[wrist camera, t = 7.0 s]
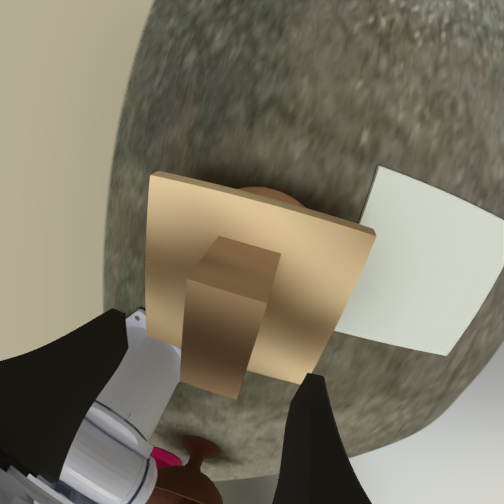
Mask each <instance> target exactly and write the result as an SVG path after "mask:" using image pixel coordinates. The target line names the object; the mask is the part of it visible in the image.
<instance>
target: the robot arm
mask: <svg viewBox="0 0 504 504" xmlns="http://www.w3.org/2000/svg"><path fill="white" fill-rule="evenodd" d="M180 361H181V348H178V347H175V346H173V345H170V344H167V343H165V342H162V341H160V340H157V339H154V338H152V337H149V336H147V335H146V312H145V311H144V310H142V309H138V310H137V311H135V312H134V313H133V314H131V315H130V316H129V317H127V318H125V313H122V312H120V311H118V310H115V309H113V308H112V309H110V310H109V311H107V312H105V313H103V314H102V315H100V316H98V317H96V318H95V319H93V320H91V321H90V322H88V323H86V324H84V325H83V326H81V327H79V328H78V329H76V330H74V331H72V332H70V333H69V334H67V335H65V336H63V337H61V338H59V339H57V340H55V341H53V342H51V343H49V344H47V345H45V346H43V347H40V348H38V349H36V350H33V351H31V352H28V353H25V354H23V355H19V356H16V357H13V358H9V359H6V360H3V361H0V504H145V503H146V502H147V500H148V499H149V497H150V495H151V493H152V491H153V489H154V487H155V484H156V480H157V468H156V462H155V459H154V458H153V457H151V456H150V454H151V452H152V449H153V446H152V445H151V444H149V443H148V442H149V440H150V438H151V436H152V434H153V432H154V430H155V428H156V426H157V424H158V422H159V420H160V418H161V416H162V414H163V412H164V410H165V408H166V406H167V404H168V402H169V400H170V398H171V396H172V394H173V392H174V390H175V388H176V386H177V384H178V382H181V381H179V380H180ZM272 504H372V503H371V502H370V500H369V498H368V497H367V495H366V493H365V491H364V490H363V488H362V486H361V485H360V482H359V481H358V479H357V477H356V475H355V473H354V470H353V468H352V466H351V464H350V462H349V459H348V457H347V454H346V452H345V449H344V446H343V444H342V441H341V438H340V435H339V432H338V429H337V426H336V422H335V419H334V416H333V412H332V408H331V405H330V401H329V397H328V392H327V388H326V383H325V379H324V377H323V376H320V375H315V374H311V373H307V374H306V376H305V378H304V380H303V382H302V383H301V385H300V387H299V389H298V391H297V392H296V394H295V396H294V398H293V399H292V401H291V404H290V408H289V412H288V417H287V421H286V426H285V434H284V442H283V451H282V459H281V467H280V474H279V479H278V484H277V488H276V492H275V496H274V499H273V503H272Z"/></svg>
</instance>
